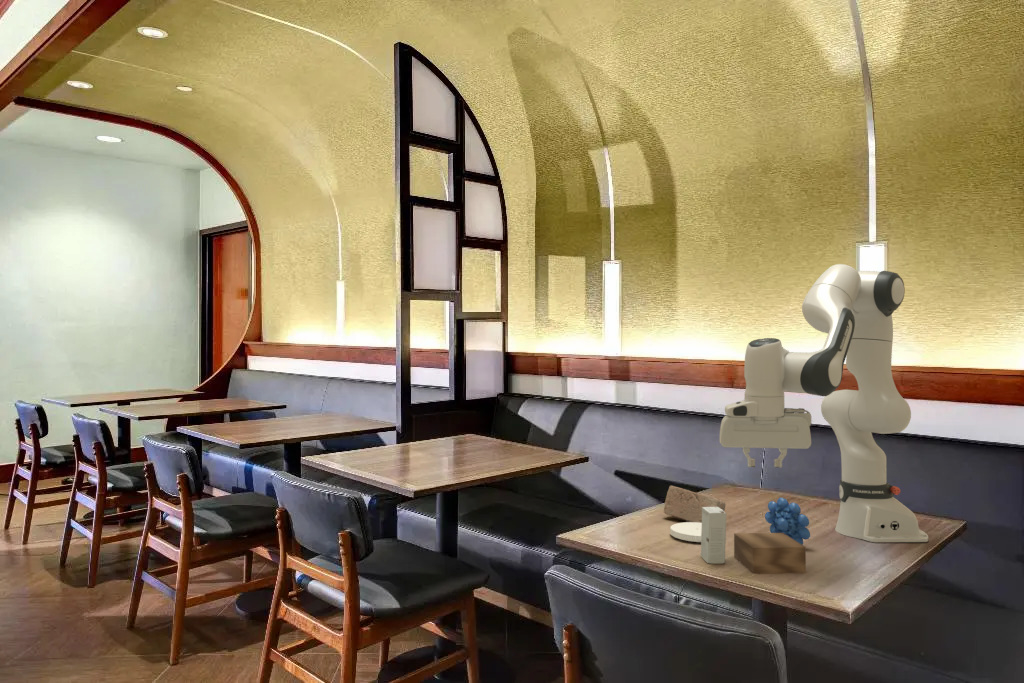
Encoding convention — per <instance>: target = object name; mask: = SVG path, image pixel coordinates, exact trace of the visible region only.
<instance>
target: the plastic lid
mask: <svg viewBox="0 0 1024 683" xmlns="http://www.w3.org/2000/svg"><path fill="white" fill-rule="evenodd" d="M669 527H670V528H669V530H670V535H671V536H672V537H673V538H676V539H679V540H683V541H686V542H687V541H688V542H696V543H701V530H702V523H699V522H690V521H686V522H677V523H674V524H672V525H670V526H669Z"/></svg>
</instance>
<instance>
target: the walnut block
mask: <svg viewBox="0 0 1024 683" xmlns="http://www.w3.org/2000/svg"><path fill="white" fill-rule="evenodd" d="M733 537H734V538H733V540H734V541H733V543H734V544H733V557H734V559H735V560H737V561H738V562H739V563H741V564H742V565H743V567H745V568H746V569H748V571H750V572H751V574H789V573H790V574H793V573H795V574H796V573H797V574H799V573H801V574H802V573H806V566H807V565H806V563H807V562H806V560H807V559H806V553H807V552H806V546H805V545H804V544H803V545H801V544H800V543H798V542H797V541H795V540H794V539H792V538H790V537H789V536H787V535H786V534H784V533H771V532H747V533H746V532H745V533H743V532H742V533H741V532H739V533H733Z"/></svg>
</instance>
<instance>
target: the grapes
mask: <svg viewBox="0 0 1024 683" xmlns="http://www.w3.org/2000/svg"><path fill="white" fill-rule="evenodd" d="M767 508H768V511H766V513H764V519H765V521H766V522H767V523H768V524H770V526H769V533H784V534H786V535H787V536H789V537H790V538H792V539H794V540H795V541H797V542H798V543H800V544H801V545H803V546H804V540H806V541H807V540H808V539H810V538H811V532H810V530H809V528H807V527H808V526H809V525H810V519H809V518H808V516H807V515H805V514H804V513H801V512H802V510H801V507H800V505H799V504H798V503H795V502H794V501H793V502H790V503H789V501H788V500H787V499H786V498H785V497H779V498H778V499H777V501H776V502H775V501H773V500H771V501H769V502H768V503H767Z"/></svg>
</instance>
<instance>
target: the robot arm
mask: <svg viewBox="0 0 1024 683" xmlns="http://www.w3.org/2000/svg"><path fill="white" fill-rule="evenodd" d="M905 293H906V292H905V284H904V280H903V279H902V277H901V276H900V275H899V274H898V273H897V272H893V271H889V270H882V271H878V270H877V271H875V270H871V271H870V270H858V271H857V269H855V268H854V267H853V266H850V265H848V264H844V263H836V264H834V265H833V264H832V265H831V266H830V267H828V268H827V269H826V270H825V271H823V272H822V273H821V275H820V276H819V277H818V278H817V279H816V280H815V281H814V283H813V284H812V285H811V287H810V289H809V290H808V292H807V293H806V295H805V297H804V299H803V302H802V305H801V309H802V310H801V311H802V315H803V317H804V319H805V321H806V322H807V323H808V325H810V326H811V327H812V328H813V329H815V330H817V331H818V332H821V333H825V334H827V336H826V340H825V341H824V345H823V347H822V348H821V349H820V350H815V351H813V352H794V351H790V350H788V349H786V348H784V347H783V346H782V341H781V340H780V339H779V338H774V337H773V338H772V337H765V338H758V339H753V340H751V341H749V342H748V344H747V346H746V350H745V354H744V367H743V368H744V369H743V372H744V374H743V375H744V376H743V377H744V380H745V390H744V399H743V400H740V401H736V402H732V403H730V404H727V405H725V406H724V413H725V415H724V417H723V418H722V419H721V422H720V427H719V444H720V445H721V446H722V447H723V448H732V449H733V448H736V449H740V448H741V449H742V453H743V454H744V455H745V457H746V459H747V468H756V464H755V463H756V459H755V458H752V457H751V456H750V455H749V453H751V449H778V451H779V452H780V454H779V455H778V457H777V458H774V459H773V462H774V463H773V467H774V468H778V469H780V468H781V469H782V467H783V460H784V459H785V457H786V456H787V454H788V449H790V450H791V449H794V450H795V449H796V450H797V449H798V450H799V449H801V450H803V449H804V450H806V449H807V450H808V449H809V448H810V447H811V446H812V434H811V429H810V427H811V425H812V414H811V412H810V411H809V410H807V409H805V408H801V407H799V408H793V407H792V408H791V407H785V392H786V393H787V392H788V393H795V394H807V395H808V394H809V395H812V396H813V395H814V396H817V397H818V396H819V397H823V399H822V402H821V404H820V411H821V414H822V418H823V419H824V421H826V422H827V423H828V424H829V426H830V428H832V431H833V432H834V435H835V436H836V440H837V443H838V445H839V448H840V458H841V459H840V460H841V461H840V462H841V464H840V465H841V479H840V480H839V486H838V488H839V500H840V504H839V506H840V507H839V512H838V517H837V521H836V522H837V523H836V525H835V528H834V530H835V531H836V532H837V534H841V535H843V536H846V537H848V538H849V537H850V538H854V539H860V540H864V541H866V542H871V543H927V542H929V535H928V534H927V533H926V532H925V531H923V530H921V529H920V527H919V522H918V518H917V516H916V515H915V513H914V512H913V511H912V510H911V509H909V508H908V507H907V506H906V505H904V504H903V503H902V502H900V501H899V500H898V499H897V498H895V497H894V496H895V495H896V496H898V495H900V494H901V489H900V487H898V486H895V485H892V484H890V483H889V482H887V455H886V453H885V451H884V450H883V449H882V448H881V447H880V446H879V445H878V444H877V443H876V441H875V439H874V437H873V433H875V434H881V435H885V434H886V435H887V434H897V433H900V432H903V431H905V429H906V428H907V427H908V426H909V424H910V422H911V418H912V412H911V407H910V405H909V402H908V401H907V399H905V398H903V396H902V395H901V394H900V392H899V391H898V389H897V387H896V384H895V381H894V378H893V372H892V356H893V354H892V353H893V340H894V325H893V324H894V323H893V315H892V314H893V313H894V312H895V311H896V310H897V309H898V308H899V307H900V306H901V304H902V303H903V301H904V298H905ZM844 365H845V366H846V369H847V370H848V372H849V373H850V374H852V375H853V376H854V378H855V380H856V382H857V388H858V390H856V389H845V388H844V389H840V390H839V389H838V388H839V387H840V385H841V383H842V378H843V372H844Z"/></svg>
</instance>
